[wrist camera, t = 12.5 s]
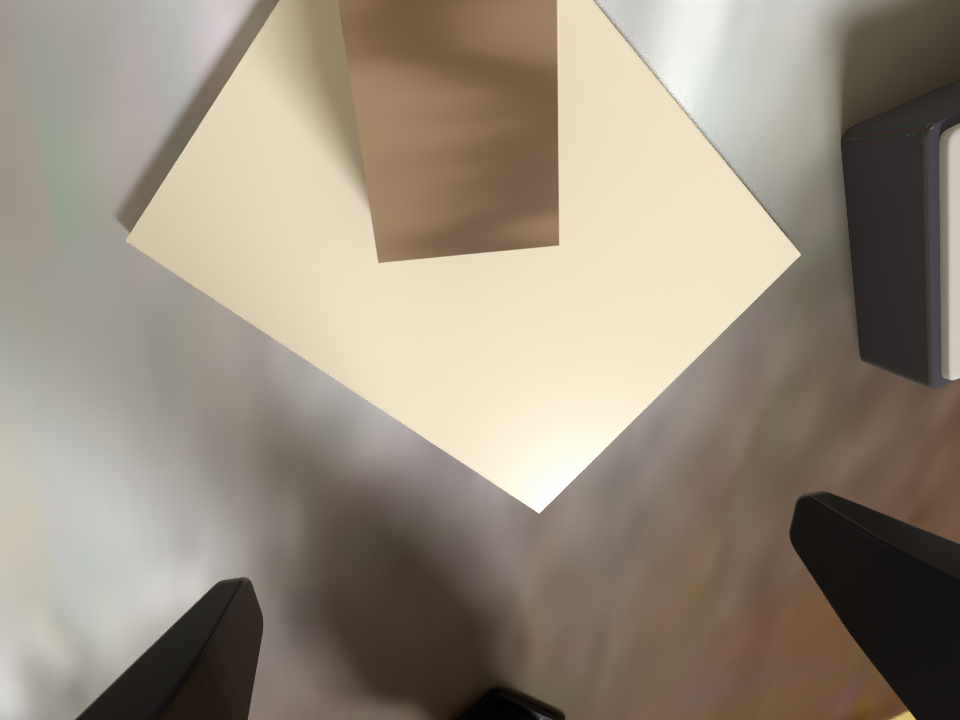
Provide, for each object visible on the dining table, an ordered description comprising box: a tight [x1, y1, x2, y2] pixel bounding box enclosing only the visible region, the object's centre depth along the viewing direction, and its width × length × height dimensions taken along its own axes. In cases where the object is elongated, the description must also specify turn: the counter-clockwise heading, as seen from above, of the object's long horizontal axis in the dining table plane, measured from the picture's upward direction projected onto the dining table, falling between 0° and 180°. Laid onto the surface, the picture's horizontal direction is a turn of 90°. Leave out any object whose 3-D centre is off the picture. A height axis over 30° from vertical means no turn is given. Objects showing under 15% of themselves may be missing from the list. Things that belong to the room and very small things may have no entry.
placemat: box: [126, 0, 801, 513], centre depth 19 cm, size 20×16×1 cm
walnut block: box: [338, 0, 559, 263], centre depth 14 cm, size 5×5×10 cm
